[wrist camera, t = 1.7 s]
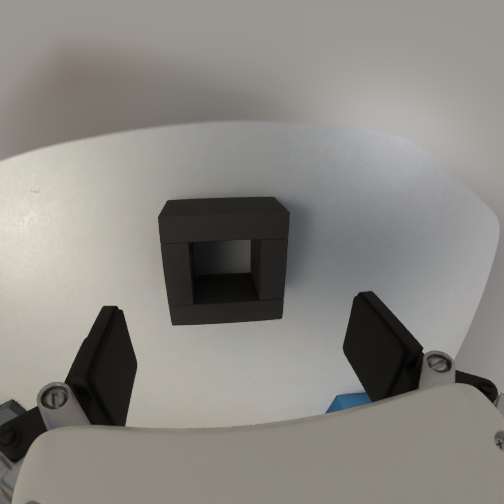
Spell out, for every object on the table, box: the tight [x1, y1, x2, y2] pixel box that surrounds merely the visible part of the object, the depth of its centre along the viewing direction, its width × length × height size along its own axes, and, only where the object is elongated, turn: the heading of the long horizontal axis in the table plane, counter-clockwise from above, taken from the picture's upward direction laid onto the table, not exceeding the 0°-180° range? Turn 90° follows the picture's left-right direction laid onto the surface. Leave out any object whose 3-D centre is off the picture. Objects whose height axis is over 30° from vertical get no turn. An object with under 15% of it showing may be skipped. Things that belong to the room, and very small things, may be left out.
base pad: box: [0, 400, 26, 426], centre depth 22 cm, size 10×10×4 cm
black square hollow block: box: [158, 197, 290, 325], centre depth 16 cm, size 6×6×4 cm
